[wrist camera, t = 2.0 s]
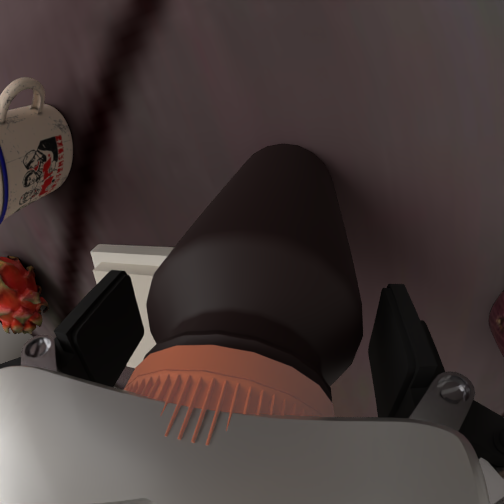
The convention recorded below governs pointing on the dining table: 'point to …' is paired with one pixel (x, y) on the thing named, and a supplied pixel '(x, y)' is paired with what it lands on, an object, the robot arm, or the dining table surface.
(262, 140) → the dining table surface
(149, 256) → the stand
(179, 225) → the dining table surface
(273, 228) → the dark brown water bottle
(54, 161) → the teacup with lid
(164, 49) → the dining table surface
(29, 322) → the dragon fruit
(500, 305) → the vegetable
